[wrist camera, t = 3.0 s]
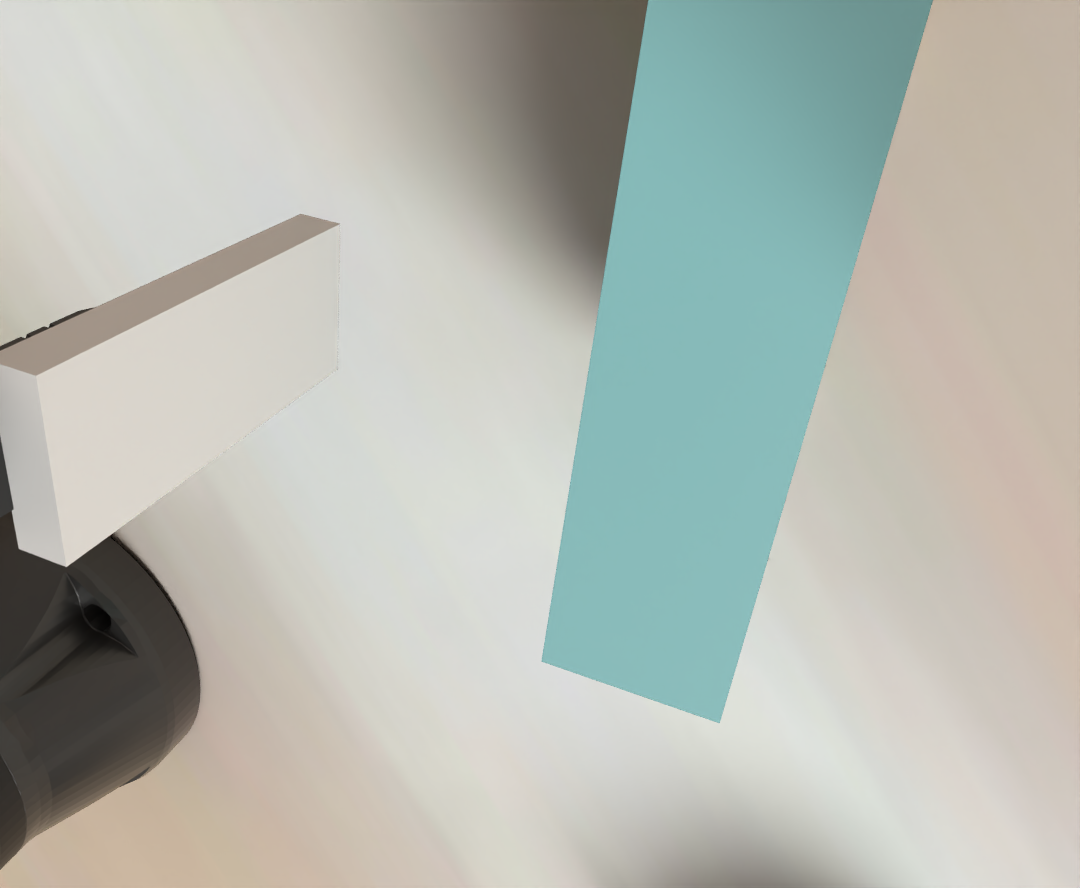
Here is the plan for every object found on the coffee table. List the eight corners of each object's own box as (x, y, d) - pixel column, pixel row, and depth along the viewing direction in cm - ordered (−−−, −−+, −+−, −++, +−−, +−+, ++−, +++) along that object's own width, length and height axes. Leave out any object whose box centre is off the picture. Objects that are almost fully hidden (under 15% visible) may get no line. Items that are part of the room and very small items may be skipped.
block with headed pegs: (667, 431, 32) (541, 661, 22) (792, -154, 23) (681, -202, 14) (792, 466, 31) (719, 723, 21) (968, -132, 22) (982, -166, 13)
